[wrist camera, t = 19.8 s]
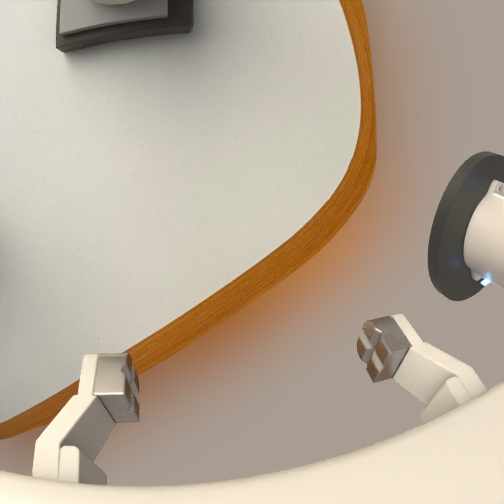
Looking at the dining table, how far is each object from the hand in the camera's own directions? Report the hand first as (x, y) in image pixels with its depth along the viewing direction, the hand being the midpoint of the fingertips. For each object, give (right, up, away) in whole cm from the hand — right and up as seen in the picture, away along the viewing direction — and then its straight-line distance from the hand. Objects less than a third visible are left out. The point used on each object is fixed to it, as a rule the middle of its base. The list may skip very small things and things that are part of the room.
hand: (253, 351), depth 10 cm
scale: (-12, +28, +10) cm, 32 cm away
